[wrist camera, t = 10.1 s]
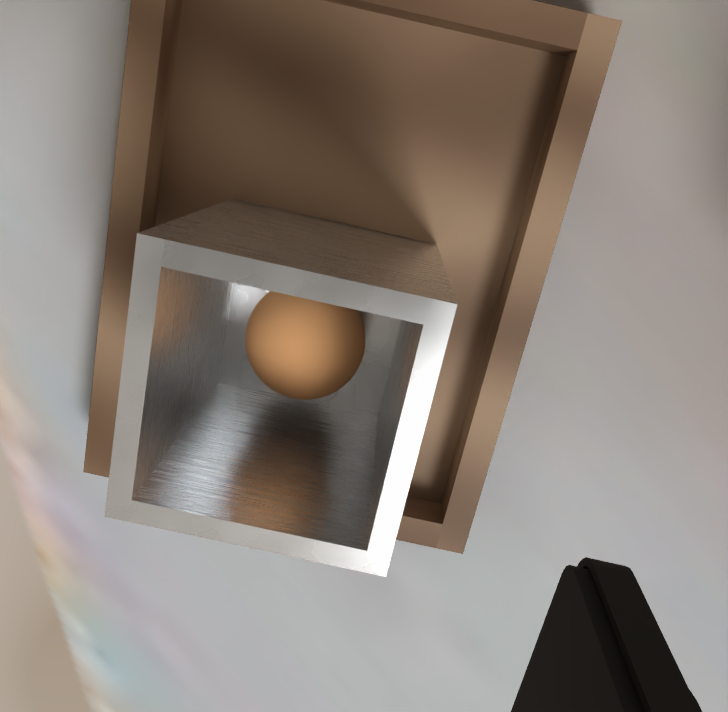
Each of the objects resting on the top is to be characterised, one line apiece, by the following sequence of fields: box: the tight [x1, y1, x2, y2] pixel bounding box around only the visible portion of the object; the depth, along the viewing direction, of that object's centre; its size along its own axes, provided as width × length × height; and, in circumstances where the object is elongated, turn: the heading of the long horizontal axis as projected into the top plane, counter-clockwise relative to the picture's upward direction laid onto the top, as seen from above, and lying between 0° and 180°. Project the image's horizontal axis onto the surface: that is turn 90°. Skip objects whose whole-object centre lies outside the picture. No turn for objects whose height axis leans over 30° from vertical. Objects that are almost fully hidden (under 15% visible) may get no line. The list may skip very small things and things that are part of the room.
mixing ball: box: [245, 291, 365, 400], centre depth 22 cm, size 4×4×4 cm
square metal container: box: [105, 198, 457, 577], centre depth 20 cm, size 7×7×9 cm
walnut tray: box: [84, 0, 622, 554], centre depth 24 cm, size 18×14×2 cm
